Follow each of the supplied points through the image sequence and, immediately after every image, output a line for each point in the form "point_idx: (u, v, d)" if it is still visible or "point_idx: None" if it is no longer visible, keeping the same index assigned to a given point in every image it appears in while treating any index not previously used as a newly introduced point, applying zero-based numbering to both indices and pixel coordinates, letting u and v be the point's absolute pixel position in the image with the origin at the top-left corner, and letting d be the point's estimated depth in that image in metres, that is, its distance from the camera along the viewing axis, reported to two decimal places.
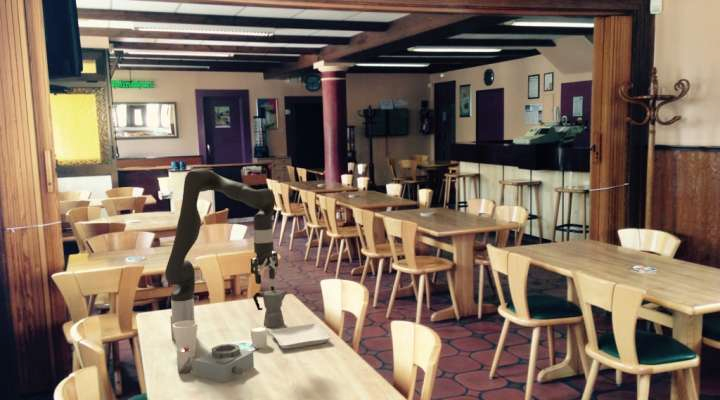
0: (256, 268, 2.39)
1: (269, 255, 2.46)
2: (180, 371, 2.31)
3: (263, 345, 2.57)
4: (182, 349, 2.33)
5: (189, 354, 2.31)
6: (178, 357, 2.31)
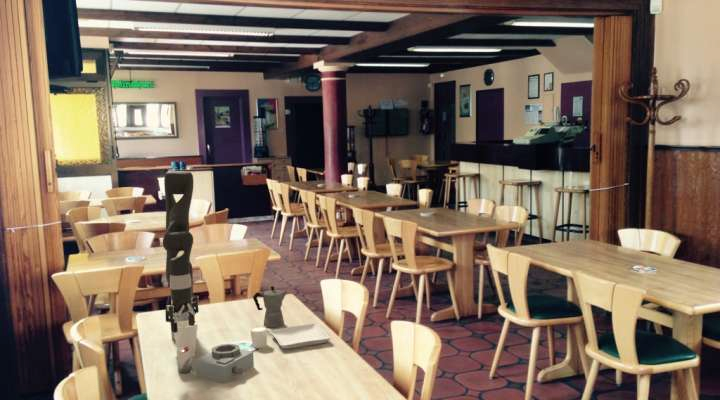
0: (171, 316, 2.25)
1: (187, 301, 2.32)
2: (180, 371, 2.31)
3: (263, 345, 2.57)
4: (182, 349, 2.33)
5: (189, 354, 2.31)
6: (178, 357, 2.31)
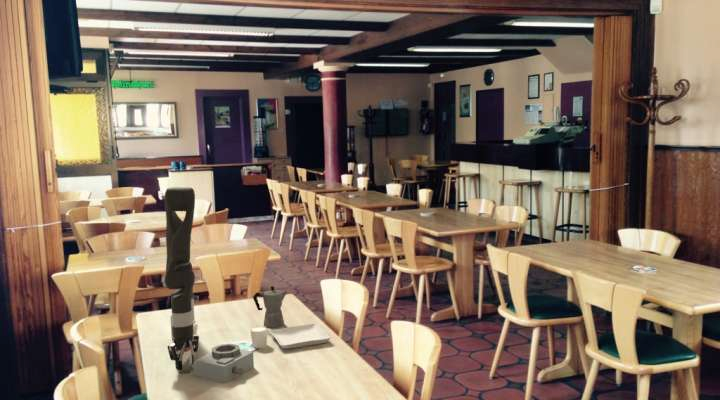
0: (175, 355, 2.27)
1: (189, 338, 2.33)
2: (180, 371, 2.31)
3: (263, 345, 2.57)
4: None
5: (189, 354, 2.31)
6: None
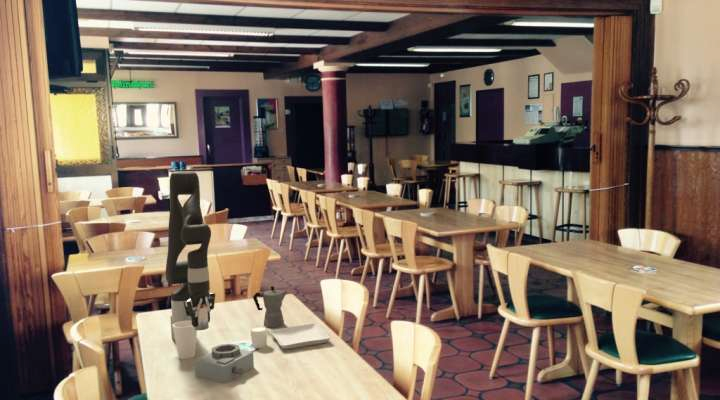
0: (191, 311, 2.25)
1: (205, 294, 2.31)
2: (196, 328, 2.29)
3: (263, 345, 2.57)
4: None
5: (205, 311, 2.29)
6: (194, 313, 2.29)
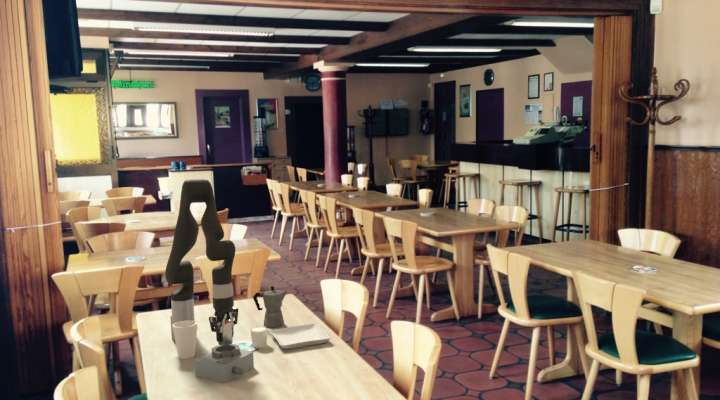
0: (216, 327, 2.27)
1: (229, 310, 2.33)
2: (221, 343, 2.31)
3: (263, 345, 2.57)
4: None
5: (230, 326, 2.31)
6: None
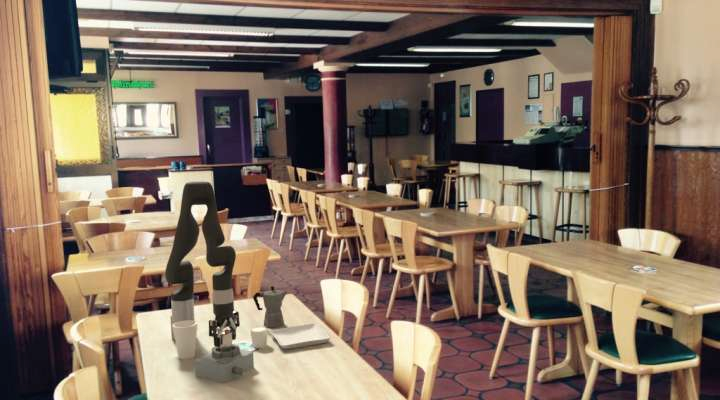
0: (214, 331, 2.26)
1: (229, 315, 2.33)
2: None
3: (263, 345, 2.57)
4: (222, 332, 2.33)
5: (230, 337, 2.31)
6: None
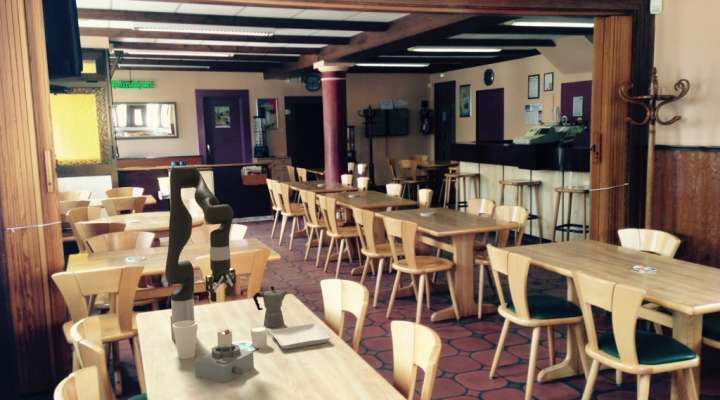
0: (211, 286, 2.33)
1: (226, 272, 2.40)
2: None
3: (263, 345, 2.57)
4: (222, 332, 2.33)
5: (230, 337, 2.31)
6: (219, 340, 2.31)
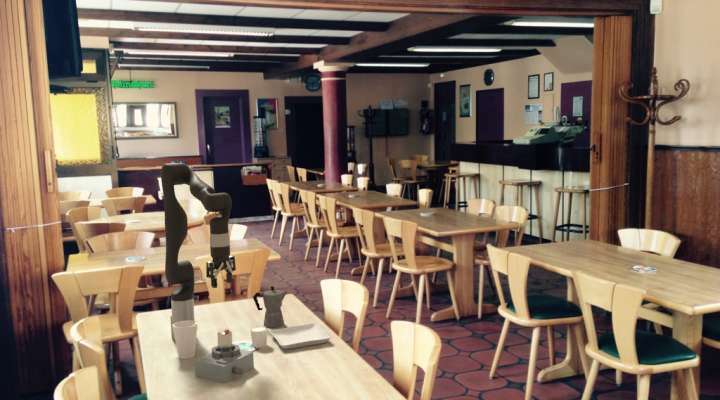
0: (211, 272, 2.40)
1: (226, 259, 2.46)
2: None
3: (263, 345, 2.57)
4: (222, 332, 2.33)
5: (230, 337, 2.31)
6: (219, 340, 2.31)
